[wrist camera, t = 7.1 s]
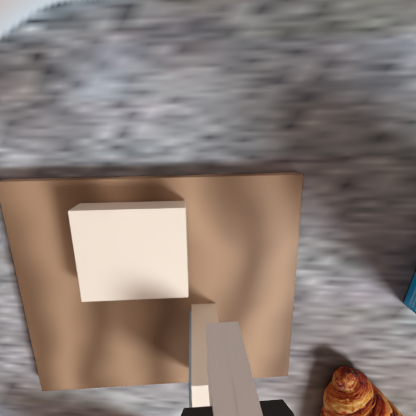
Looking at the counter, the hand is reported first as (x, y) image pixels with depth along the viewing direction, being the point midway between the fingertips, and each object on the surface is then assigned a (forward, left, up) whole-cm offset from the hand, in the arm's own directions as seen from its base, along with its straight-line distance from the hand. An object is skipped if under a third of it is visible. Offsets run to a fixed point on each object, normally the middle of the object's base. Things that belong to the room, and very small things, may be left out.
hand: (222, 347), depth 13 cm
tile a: (-2, 0, -12) cm, 12 cm away
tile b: (0, -10, -13) cm, 17 cm away
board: (-4, -5, -14) cm, 16 cm away
